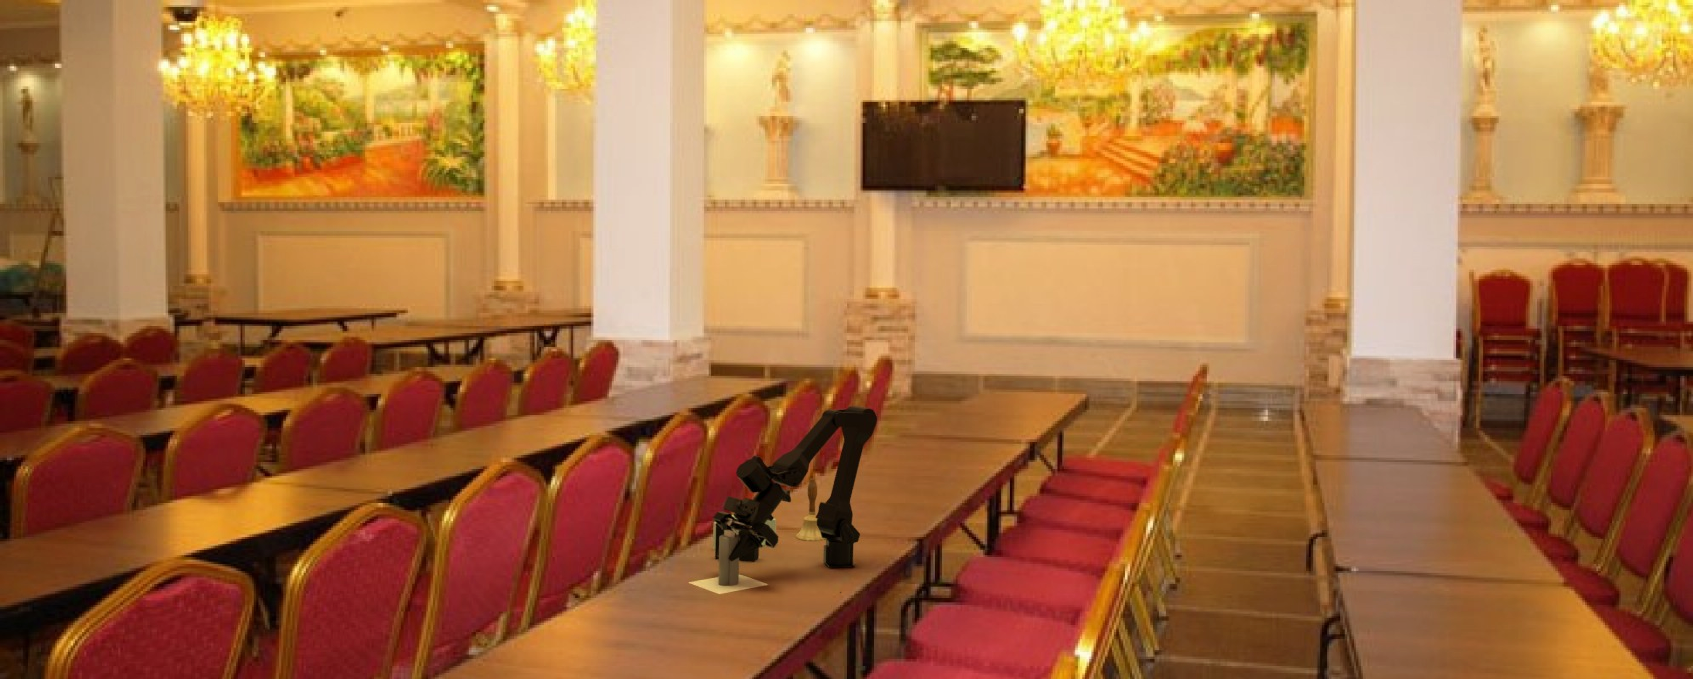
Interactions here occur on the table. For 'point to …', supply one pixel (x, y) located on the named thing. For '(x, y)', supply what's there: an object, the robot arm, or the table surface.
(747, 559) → the electronic device
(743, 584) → the mat
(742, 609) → the table surface
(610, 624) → the table surface
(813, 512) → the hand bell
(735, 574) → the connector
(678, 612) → the table surface
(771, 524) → the l-shaped corner panel
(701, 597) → the table surface
